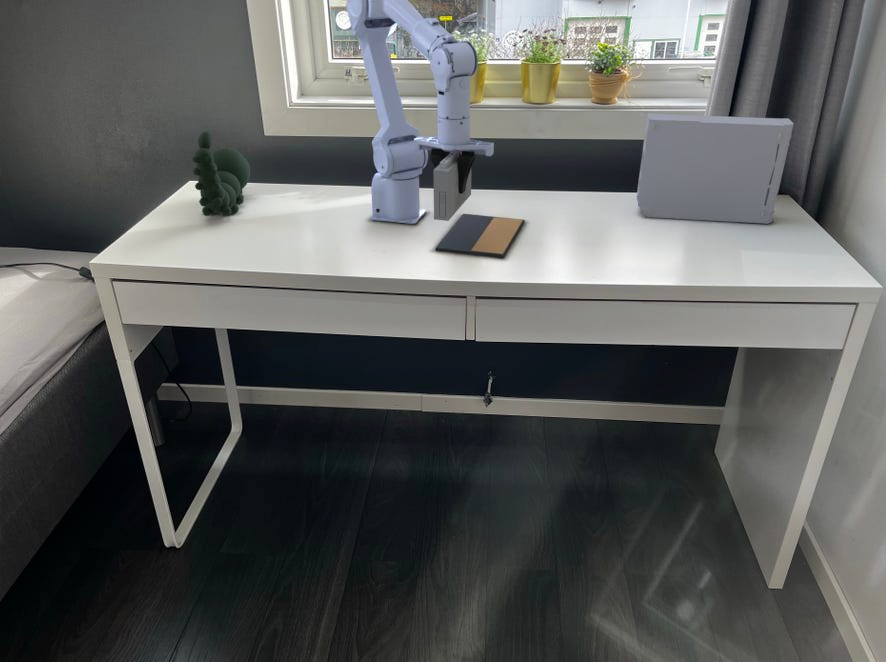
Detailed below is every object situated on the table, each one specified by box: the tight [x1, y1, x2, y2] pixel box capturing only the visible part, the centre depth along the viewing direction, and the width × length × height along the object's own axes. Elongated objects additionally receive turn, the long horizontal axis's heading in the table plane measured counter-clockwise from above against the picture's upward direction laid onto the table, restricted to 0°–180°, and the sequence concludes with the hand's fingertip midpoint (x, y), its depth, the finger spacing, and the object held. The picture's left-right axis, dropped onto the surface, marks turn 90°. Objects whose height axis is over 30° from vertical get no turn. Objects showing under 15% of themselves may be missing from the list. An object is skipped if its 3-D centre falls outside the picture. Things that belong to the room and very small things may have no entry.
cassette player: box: [433, 152, 473, 222], centre depth 140 cm, size 16×3×10 cm, turn 163°
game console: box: [636, 112, 794, 225], centre depth 153 cm, size 6×27×20 cm, turn 81°
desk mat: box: [435, 213, 526, 259], centre depth 148 cm, size 13×20×1 cm, turn 164°
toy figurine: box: [192, 130, 251, 217], centre depth 158 cm, size 9×19×25 cm
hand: (453, 191), depth 141 cm, fingers closed on cassette player, 3 cm apart
